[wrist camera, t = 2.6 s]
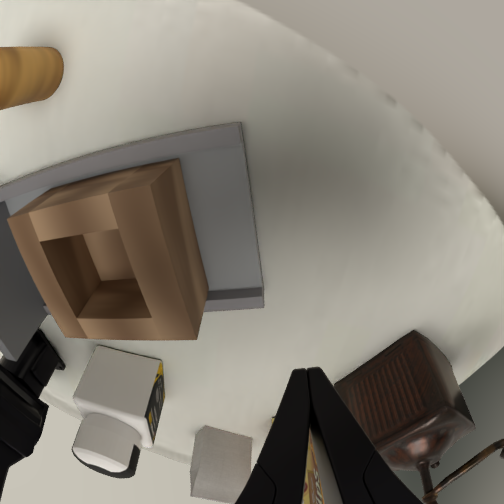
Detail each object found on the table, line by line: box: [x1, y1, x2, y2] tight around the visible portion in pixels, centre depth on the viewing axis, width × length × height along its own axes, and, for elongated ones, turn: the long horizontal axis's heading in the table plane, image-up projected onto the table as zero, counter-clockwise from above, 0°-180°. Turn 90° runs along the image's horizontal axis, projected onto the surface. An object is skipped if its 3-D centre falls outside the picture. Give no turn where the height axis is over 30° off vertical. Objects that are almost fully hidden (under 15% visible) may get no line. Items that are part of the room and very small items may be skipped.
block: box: [7, 158, 209, 340], centre depth 17 cm, size 10×9×5 cm
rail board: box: [0, 122, 264, 361], centre depth 17 cm, size 21×12×8 cm, turn 97°
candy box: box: [272, 418, 325, 504], centre depth 27 cm, size 9×4×15 cm, turn 23°
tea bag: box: [190, 425, 252, 504], centre depth 31 cm, size 4×7×10 cm, turn 61°
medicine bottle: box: [72, 345, 165, 478], centre depth 24 cm, size 7×7×12 cm
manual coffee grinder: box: [334, 330, 504, 504], centre depth 19 cm, size 16×11×18 cm
